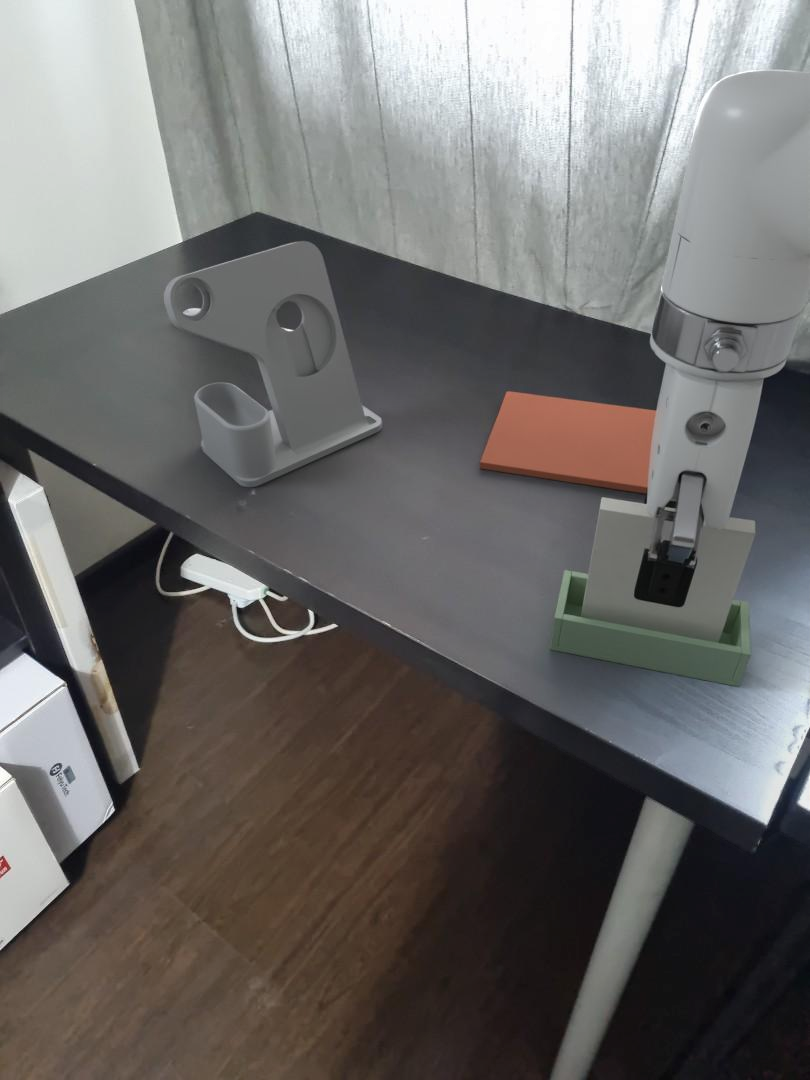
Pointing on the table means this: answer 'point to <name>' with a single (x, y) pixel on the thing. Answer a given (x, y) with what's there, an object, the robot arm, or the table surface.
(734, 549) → the board
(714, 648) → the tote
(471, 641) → the table surface
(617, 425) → the mat
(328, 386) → the phone holder
